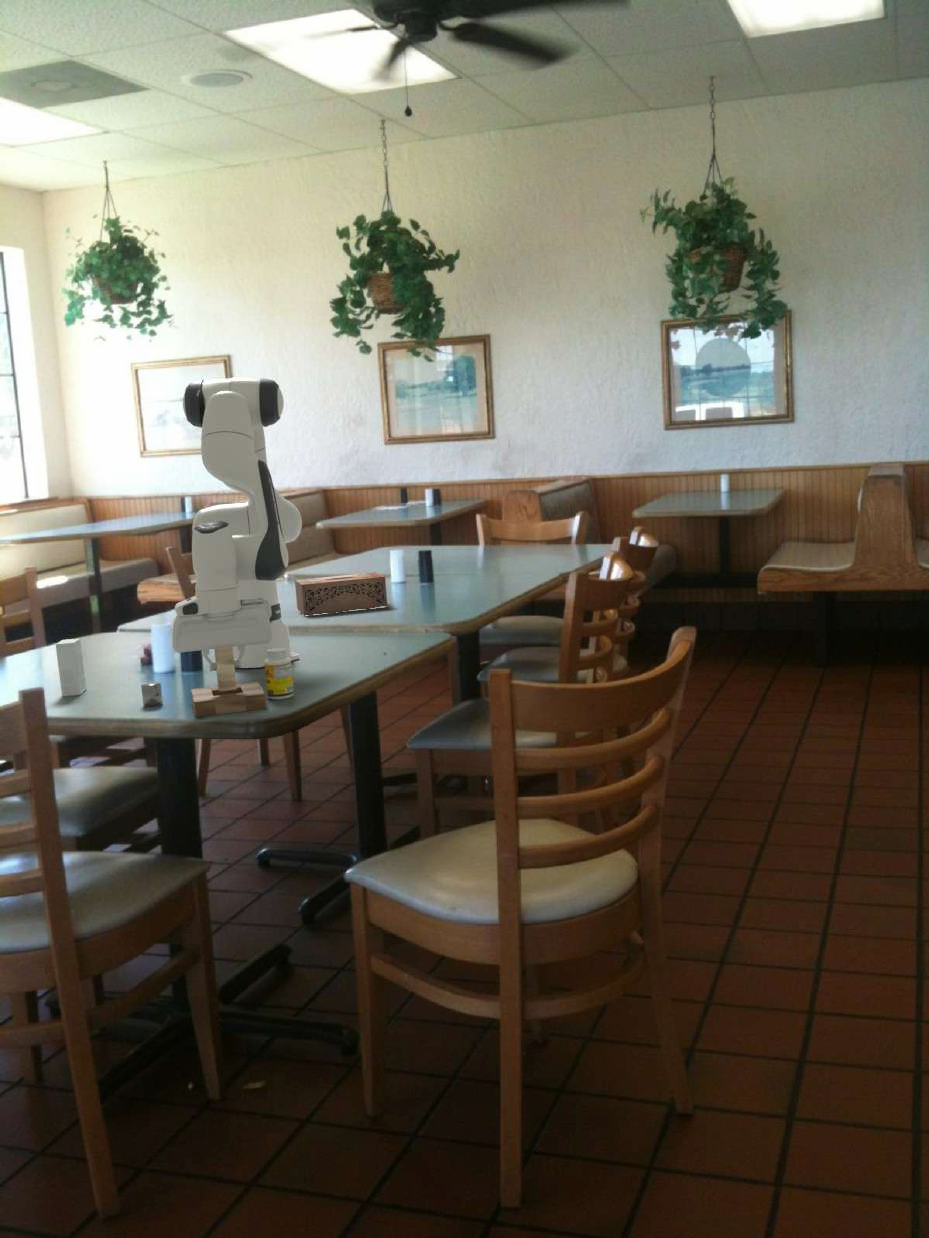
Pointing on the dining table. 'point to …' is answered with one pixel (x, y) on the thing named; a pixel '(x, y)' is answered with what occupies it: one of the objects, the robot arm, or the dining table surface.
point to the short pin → (152, 694)
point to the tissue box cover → (340, 593)
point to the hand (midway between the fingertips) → (225, 669)
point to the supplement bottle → (278, 674)
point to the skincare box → (71, 667)
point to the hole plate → (228, 699)
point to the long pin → (225, 667)
